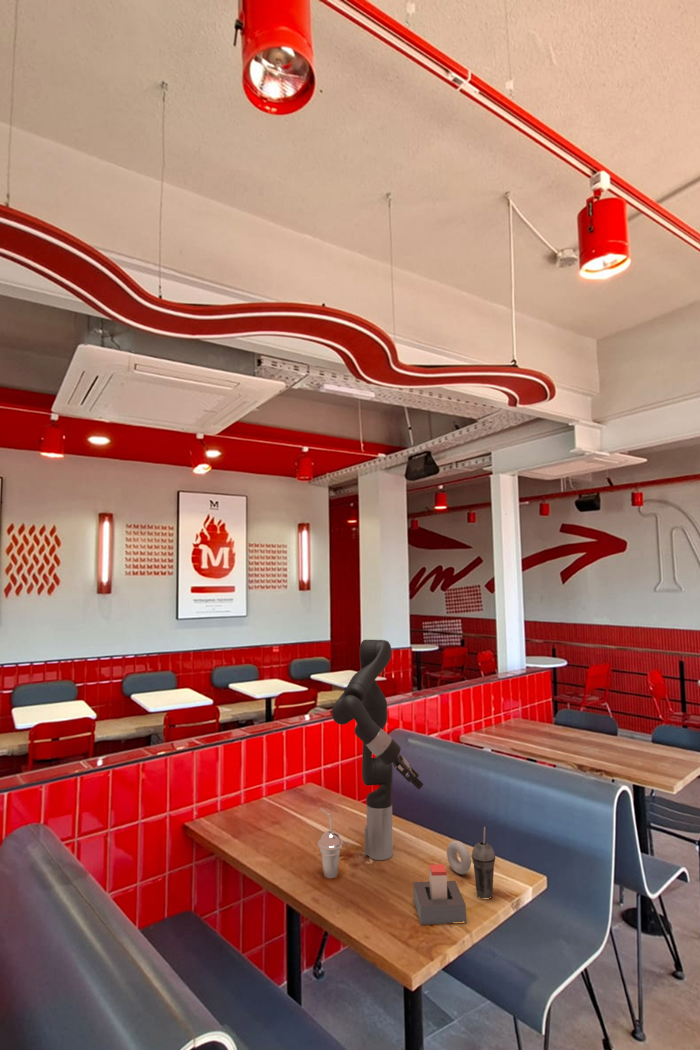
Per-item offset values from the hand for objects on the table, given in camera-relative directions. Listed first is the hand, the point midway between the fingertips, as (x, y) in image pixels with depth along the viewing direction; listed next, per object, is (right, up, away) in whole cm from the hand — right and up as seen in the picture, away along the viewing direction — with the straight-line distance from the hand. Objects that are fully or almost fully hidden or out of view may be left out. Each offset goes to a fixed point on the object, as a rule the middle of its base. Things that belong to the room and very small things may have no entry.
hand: (418, 782), depth 183 cm
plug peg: (+4, -31, -15) cm, 35 cm away
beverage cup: (+19, -32, -7) cm, 38 cm away
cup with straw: (-29, -34, +7) cm, 45 cm away
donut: (+14, -34, +7) cm, 37 cm away
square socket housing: (+4, -31, -15) cm, 35 cm away
